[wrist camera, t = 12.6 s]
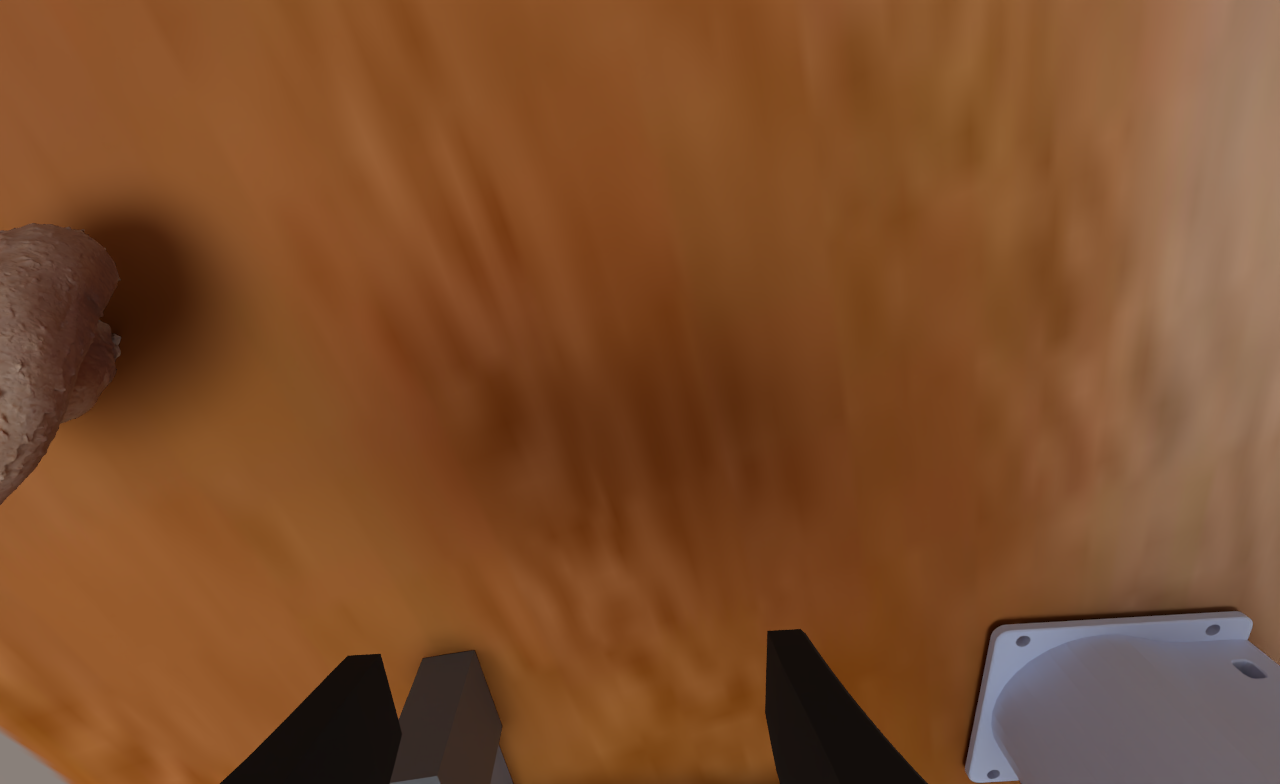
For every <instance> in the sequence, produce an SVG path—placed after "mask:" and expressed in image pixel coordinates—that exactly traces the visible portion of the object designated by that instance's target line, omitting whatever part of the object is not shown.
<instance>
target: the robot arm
mask: <svg viewBox="0 0 1280 784" xmlns="http://www.w3.org/2000/svg"><path fill="white" fill-rule="evenodd" d="M1252 626H1253V622H1252V620H1251V619H1250V618H1249V617H1248V616H1246V615H1245V614H1244V613H1242V612H1239V611H1228V612H1211V613H1194V614H1177V615H1161V616H1144V617H1127V618H1110V619H1093V620H1076V621H1059V622H1042V623H1025V624H1008V625H1001V626H999V627H997V628H996V629H995V630H994V631H993V632H992V635H991V638H990V643H989V648H988V653H987V658H986V663H985V668H984V673H983V678H982V684H981V689H980V694H979V699H978V704H977V709H976V714H975V719H974V724H973V729H972V734H971V739H970V744H969V749H968V755H967V760H966V765H965V772H966V774H967V775H968V777H969V779H970V780H971V781H973V782H977V783H983V782H1000V781H1017V780H1019V781H1020V782H1021V784H1280V666H1279V665H1278V664H1277V663H1276V662H1274V661H1273V660H1272V659H1271V658H1269V657H1268V656H1267V655H1266V654H1264V653H1263V652H1262V651H1261V650H1259V649H1258V648H1257V647H1256V646H1254V645H1253V644H1252V643H1251V642H1249V641H1248V637H1249V635H1250V632H1251V630H1252ZM1021 636H1022V637H1021ZM1019 637H1020V638H1019ZM765 714H766V719H767V725H768V730H769V735H770V740H771V746H772V751H773V756H774V761H775V766H776V771H777V774H778V778H779V781H780V784H928V783H927V782H926V781H925V780H924V779H923V778H922V777H921V776H920V775H919V774H918V773H917V772H916V771H915V770H914V769H913V767H912V766H911V765H910V764H909V763H908V762H907V761H906V760H905V759H904V758H903V757H902V755H901V754H900V753H899V752H898V751H897V750H896V749H895V748H894V747H893V745H892V744H891V743H890V742H889V741H888V740H887V739H886V737H885V736H884V735H883V734H882V733H881V732H880V730H879V729H878V728H877V727H876V726H875V724H874V723H873V722H872V721H871V720H870V718H869V717H868V716H867V715H866V714H865V712H864V711H863V710H862V709H861V708H860V706H859V705H858V704H857V703H856V701H855V700H854V699H853V698H852V696H851V695H850V694H849V693H848V691H847V690H846V689H845V687H844V686H843V685H842V684H841V682H840V681H839V680H838V678H837V677H836V676H835V674H834V673H833V672H832V670H831V669H830V668H829V666H828V665H827V664H826V662H825V661H824V659H823V658H822V657H821V655H820V654H819V652H818V651H817V650H816V648H815V647H814V645H813V644H812V642H811V641H810V639H809V638H808V636H807V635H806V634H805V633H804V632H803V631H802V630H801V629H795V630H778V631H767V667H766V704H765ZM401 737H402V732H401V728H400V724H399V720H398V717H397V713H396V709H395V706H394V702H393V698H392V695H391V691H390V687H389V683H388V680H387V676H386V672H385V669H384V665H383V661H382V658H381V654H370V655H353V656H347V657H346V658H345V659H344V660H343V661H342V662H341V663H340V664H339V665H338V666H337V667H336V668H335V669H334V670H333V671H332V672H331V673H330V674H329V675H328V676H327V677H326V678H325V679H324V681H323V682H322V683H321V684H320V685H319V686H318V687H317V688H316V689H315V690H314V691H313V692H312V693H311V694H310V695H309V696H308V697H307V698H306V699H305V700H304V701H303V702H302V703H301V704H300V705H299V706H298V707H297V708H296V709H295V710H294V711H293V712H292V713H291V714H290V716H289V717H288V718H287V719H286V720H285V721H284V722H283V723H282V724H281V725H280V726H279V727H278V728H277V729H276V730H275V731H274V732H273V733H272V734H271V735H270V736H269V737H268V738H267V739H266V740H265V741H264V742H263V743H262V744H261V745H260V746H259V747H258V748H257V749H256V750H255V751H254V752H253V753H252V754H251V755H250V756H249V757H248V758H247V759H246V760H245V761H244V762H242V763H241V764H240V765H239V766H238V767H237V768H236V769H235V770H234V771H233V772H232V773H231V774H230V775H229V776H228V777H226V778H225V779H224V780H223V781H222V782H221V783H220V784H390V780H391V776H392V773H393V769H394V765H395V761H396V757H397V753H398V749H399V745H400V741H401Z"/></svg>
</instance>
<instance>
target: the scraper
mask: <svg viewBox="0 0 1280 784" xmlns="http://www.w3.org/2000/svg"><path fill="white" fill-rule="evenodd" d="M399 724H400V728H401V732H402V737H401V741H400V745H399V749H398V753H397V757H396V761H395V765H394V769H393V773H392V776H391V780H390V784H513V782H512V779H511V776H510V774H509V771H508V768H507V766H506V763H505V760H504V758H503V755H502V752H501V749H500V747H499V740H500V735H501V730H502V724H501V722H500V719H499V716H498V713H497V711H496V708H495V705H494V702H493V700H492V697H491V694H490V691H489V689H488V686H487V683H486V680H485V678H484V675H483V672H482V669H481V667H480V664H479V661H478V658H477V656H476V653H475V650H473V651H466V652H460V653H454V654H448V655H441V656H435V657H429V658H423V659H422V662H421V664H420V667H419V669H418V672H417V674H416V677H415V680H414V682H413V685H412V687H411V690H410V692H409V695H408V697H407V700H406V703H405V705H404V708H403V710H402V713H401V715H400V718H399Z"/></svg>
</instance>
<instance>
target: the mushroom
mask: <svg viewBox="0 0 1280 784" xmlns="http://www.w3.org/2000/svg"><path fill="white" fill-rule="evenodd" d="M84 231H85V230H84V229H83V230H74V229H71V228H70V227H66V228H62V227H59V226H55V225H52V224H50V225H49V224H47V225H46V224H43V225H41V224H35V223H32V224H28V225H26V226H23V227H21V228H17V229H16V228H14V229H11V230H9V231H4V230H2V231H0V505H1V504H2V503H3V502H4V500H5V499H6V498H7V497H8V496H9V495H10V494H11V493H12V492H13V491H14V490H16V489H17V487H18V486H19V485H20V484H21V483H22V482H23V481H24V479H25V478H27V477H28V475H29V474H30V473H31V472H32V471H33V470H34V469H35V468H36V467H37V465H38V463H39V462H40V460H41V458H42V457H43V456H44V455H45V454H46V453H47V449H48V447H49V445H50V443H51V441H52V440H53V439H54V438H55V435H56V432H57V431H58V429H59V425H60V423H63V422H66V421H69V420H71V419H76V418H77V417H79V416H81V415H83V414H84V413H86V412H87V411H89V410H90V409H91V408H92V407H93V406H94V405H95V403H96V402H97V400H98V397H99V396H100V394H101V393H102V391H103V390H104V389H105V388H106V386H108V384H109V383H110V382H111V381H112V380H113V377H114V376H115V374H116V370H117V369H116V366H115V361H116V358H117V357H119V356H120V353H121V351H120V348H119V346H118V345H119V343H120V340H121V337H120V336H118V335H116V334H111V328H110V326H109V324H106V323H104V322H102V321H100V320H99V318H100V317H102V316H104V313H103V311H104V309H105V308H106V306H107V304H108V302H109V300H110V298H111V297H112V295H113V292H114V290H115V289H116V288H117V282H118V281H119V280H121V279H120V278H119V275H118V272H117V268H116V266H115V262H114V261H113V260H112V258H111V257H110V255H109V254H108V253H107V251H106V248H104V247H103V246H102V245H100V244H99V243H98V242H97V241H96V240H94V239H92V238H91V237H89V235H86V234H85V233H84Z"/></svg>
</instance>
